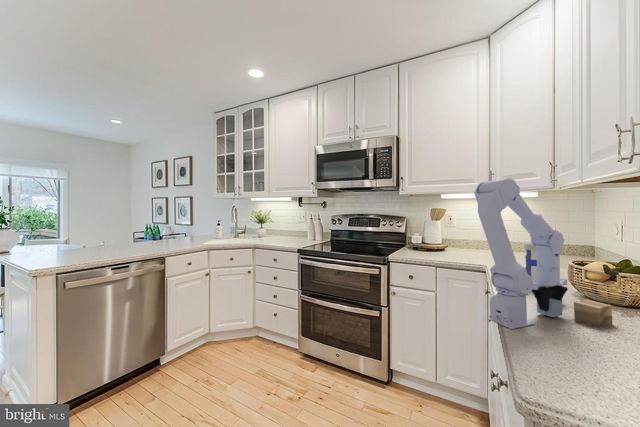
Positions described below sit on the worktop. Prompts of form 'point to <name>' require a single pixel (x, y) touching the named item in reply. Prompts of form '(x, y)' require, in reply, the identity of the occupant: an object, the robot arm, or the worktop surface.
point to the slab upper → (593, 308)
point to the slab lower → (593, 320)
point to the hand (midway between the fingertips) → (549, 309)
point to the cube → (552, 308)
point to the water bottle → (531, 260)
